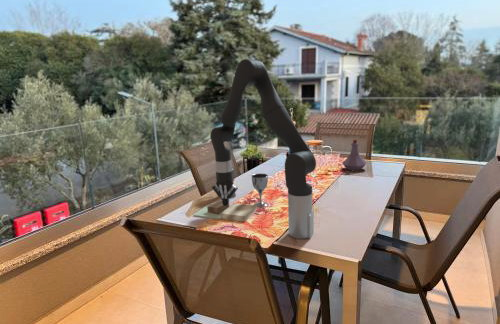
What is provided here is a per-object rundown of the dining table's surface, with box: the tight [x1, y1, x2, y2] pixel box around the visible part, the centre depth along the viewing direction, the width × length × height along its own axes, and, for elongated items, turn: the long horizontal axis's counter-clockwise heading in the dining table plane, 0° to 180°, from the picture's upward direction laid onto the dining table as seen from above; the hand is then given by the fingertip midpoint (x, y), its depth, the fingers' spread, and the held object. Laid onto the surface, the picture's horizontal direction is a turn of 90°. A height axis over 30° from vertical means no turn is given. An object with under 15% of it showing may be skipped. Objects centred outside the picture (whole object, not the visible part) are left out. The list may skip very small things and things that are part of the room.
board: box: [220, 202, 258, 222], centre depth 155 cm, size 12×14×2 cm
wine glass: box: [251, 173, 269, 208], centre depth 165 cm, size 8×8×15 cm
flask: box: [341, 139, 368, 172], centre depth 223 cm, size 16×16×20 cm
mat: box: [192, 203, 231, 220], centre depth 160 cm, size 14×16×1 cm
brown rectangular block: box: [206, 200, 230, 214], centre depth 160 cm, size 6×9×3 cm, turn 147°
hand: (225, 205), depth 157 cm, fingers closed
